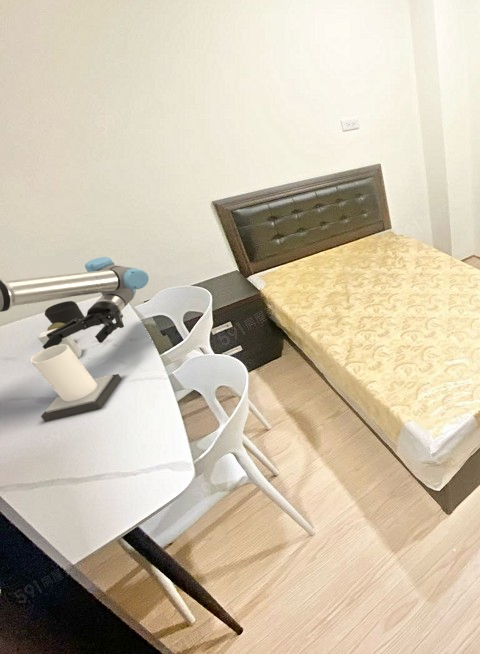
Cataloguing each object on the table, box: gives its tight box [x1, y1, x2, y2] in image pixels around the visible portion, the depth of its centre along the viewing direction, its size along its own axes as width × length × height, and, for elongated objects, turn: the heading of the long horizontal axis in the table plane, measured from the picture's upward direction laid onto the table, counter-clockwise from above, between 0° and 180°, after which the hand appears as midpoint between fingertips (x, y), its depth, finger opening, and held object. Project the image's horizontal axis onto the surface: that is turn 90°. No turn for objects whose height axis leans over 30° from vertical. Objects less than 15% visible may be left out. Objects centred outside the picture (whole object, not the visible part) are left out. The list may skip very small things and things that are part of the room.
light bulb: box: [46, 323, 64, 331], centre depth 150 cm, size 6×6×10 cm
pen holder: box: [44, 300, 86, 327], centre depth 160 cm, size 9×9×10 cm
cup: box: [30, 344, 97, 402], centre depth 122 cm, size 8×8×16 cm
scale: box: [40, 373, 123, 422], centre depth 126 cm, size 14×14×3 cm
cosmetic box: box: [37, 328, 83, 359], centre depth 143 cm, size 6×4×12 cm
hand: (72, 344), depth 127 cm, fingers open, 13 cm apart
